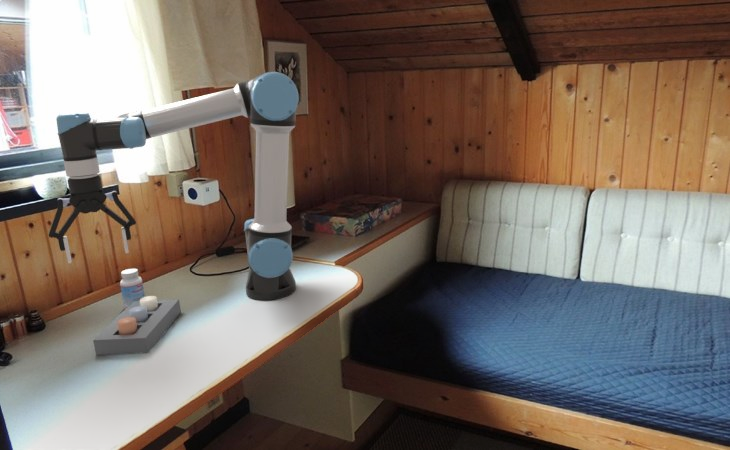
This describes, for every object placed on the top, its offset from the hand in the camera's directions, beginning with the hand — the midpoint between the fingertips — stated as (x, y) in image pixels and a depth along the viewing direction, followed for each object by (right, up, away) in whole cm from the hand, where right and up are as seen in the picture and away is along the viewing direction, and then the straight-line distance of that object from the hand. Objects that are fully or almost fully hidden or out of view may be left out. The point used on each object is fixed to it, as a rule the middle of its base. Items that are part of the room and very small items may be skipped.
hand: (99, 257), depth 148 cm
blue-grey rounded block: (+9, -18, +3) cm, 20 cm away
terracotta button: (+9, -20, -3) cm, 22 cm away
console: (+9, -20, +4) cm, 23 cm away
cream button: (+9, -16, +10) cm, 21 cm away
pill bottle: (+1, -16, +21) cm, 27 cm away
